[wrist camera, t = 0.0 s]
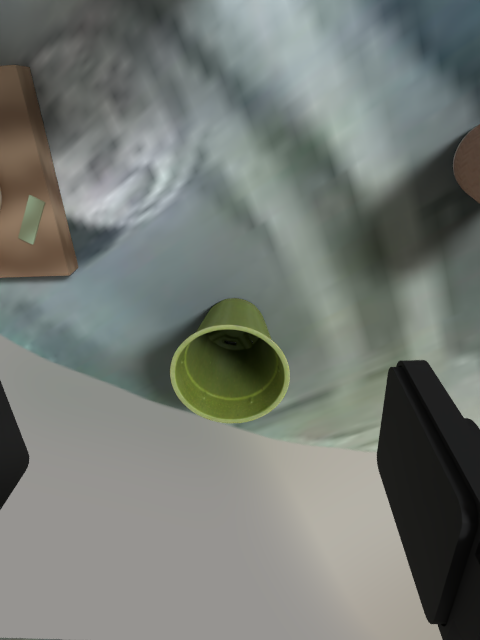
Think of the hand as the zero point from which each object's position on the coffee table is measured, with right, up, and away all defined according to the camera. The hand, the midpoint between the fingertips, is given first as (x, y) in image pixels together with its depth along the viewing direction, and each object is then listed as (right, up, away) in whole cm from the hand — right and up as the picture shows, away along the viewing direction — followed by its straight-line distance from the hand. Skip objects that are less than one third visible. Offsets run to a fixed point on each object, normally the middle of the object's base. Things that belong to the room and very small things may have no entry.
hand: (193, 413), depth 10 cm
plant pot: (+1, +2, +41) cm, 41 cm away
